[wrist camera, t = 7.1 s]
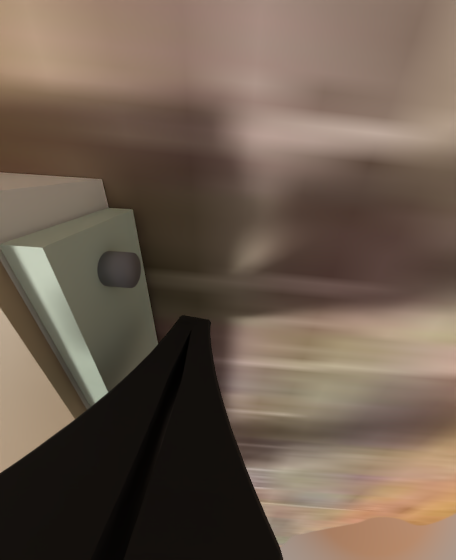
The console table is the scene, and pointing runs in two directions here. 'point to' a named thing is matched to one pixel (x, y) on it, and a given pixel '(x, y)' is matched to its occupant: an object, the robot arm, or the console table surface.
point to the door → (89, 295)
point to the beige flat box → (35, 317)
